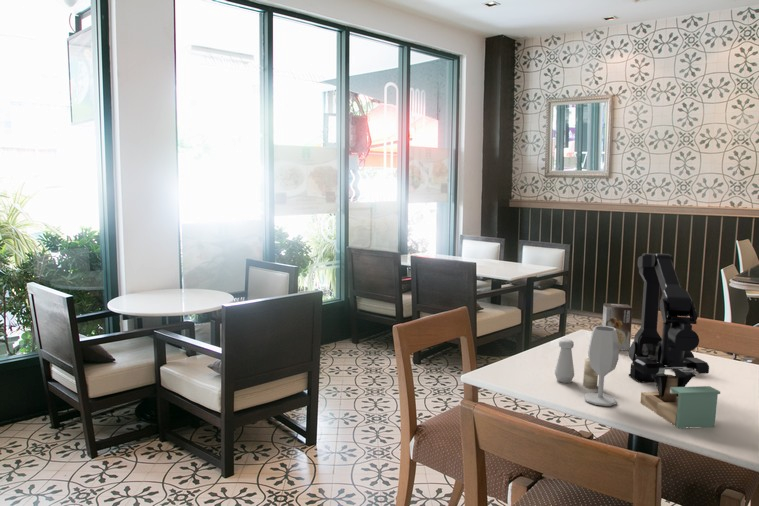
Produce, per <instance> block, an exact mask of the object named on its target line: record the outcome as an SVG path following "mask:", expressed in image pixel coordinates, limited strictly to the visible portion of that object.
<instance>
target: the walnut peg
mask: <svg viewBox="0 0 759 506" xmlns="http://www.w3.org/2000/svg"><path fill="white" fill-rule="evenodd" d="M665 374H666V373H665ZM666 375H668V378H667V383H666V388H665V392H664V395H663V397H660V400H662V401H663V402H665V403H667V402H676V398H677V394H671V393H670V387H678V377H676V376H675V374H674V375H673V374H666Z"/></svg>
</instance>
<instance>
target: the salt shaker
mask: <svg viewBox="0 0 759 506" xmlns="http://www.w3.org/2000/svg"><path fill="white" fill-rule="evenodd" d="M558 346H559V348H560V351H559V355H558V358H557V360H556V361H557V362H556V366H555V369H554V375H555V379H556V381H558V382H560V383H562V384H569V383H571V382H572V381H573V379H574V377H575V365H574V361H573V360H574V359H573V352H572V351H573V350H572V349H574V348H575V347H574V346H575V344H574V341H573V340H572V339H569V338H561V339H560V340H559V341H558Z"/></svg>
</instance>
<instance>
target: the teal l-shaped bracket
mask: <svg viewBox="0 0 759 506" xmlns="http://www.w3.org/2000/svg"><path fill="white" fill-rule="evenodd" d="M670 393H671V394H679V395H678V406H677V417H676V426H675V427H676V428H677V427H678V428H677V429H691V428H690V427H701V428H715V427H714V426H716V415H717V407H718V406H717V405H718V396H719V395H721V391H720V390H718V389H716V388H714V387H713V386H710V385H707V386H706V385H703V386H699V385H698V386H685V387H670ZM686 427H688V428H686Z"/></svg>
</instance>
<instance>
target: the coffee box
mask: <svg viewBox="0 0 759 506" xmlns="http://www.w3.org/2000/svg"><path fill="white" fill-rule="evenodd" d="M602 307H603V308H602V309H603V310H602V324H601V326H609V327H613V328H615V329H616V332H617V336H618V344H619V351H629V349H630V347H631V339H632V338H631V336H632V320H633V307H632V306H631V305H630V304H623V303H621V304H620V303H605V302H604V303H603V306H602Z"/></svg>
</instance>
